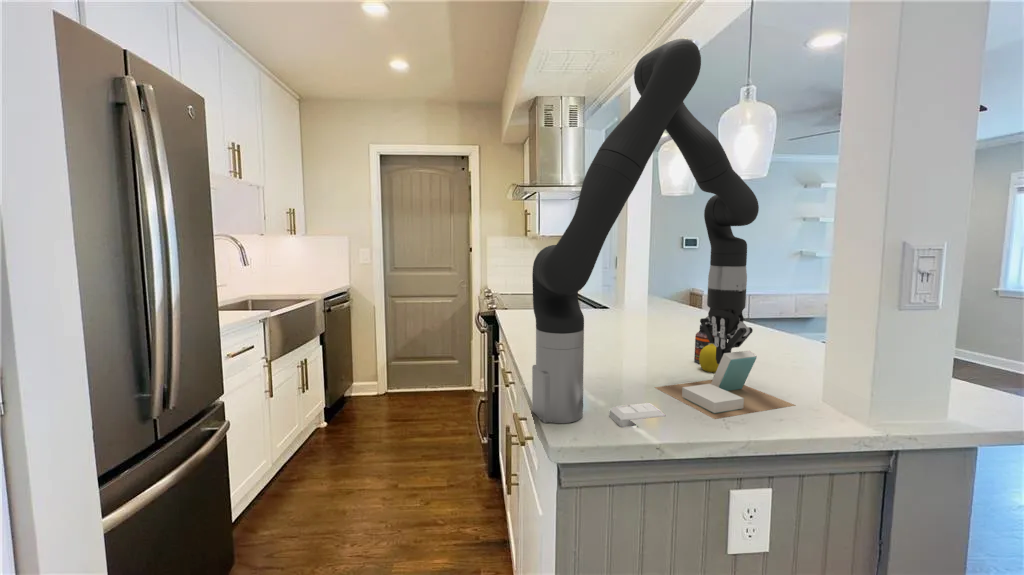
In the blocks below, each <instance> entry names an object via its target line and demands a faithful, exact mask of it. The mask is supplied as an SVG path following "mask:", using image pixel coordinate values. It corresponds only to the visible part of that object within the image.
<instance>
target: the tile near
mask: <svg viewBox="0 0 1024 575" xmlns="http://www.w3.org/2000/svg"><path fill="white" fill-rule="evenodd" d="M682 397H683V398H684V399H686V400H688V401H690V402H692V403H694V404H696V405H698V406H700V407H702V408H704V409H706V410H708V411H710V412H712V413H714V414H715V413H721V412H727V411H733V410H740V409H742V408H743V404H744V398H742V397H740V396H737V395H735V394H733V393H730V392H728V391H726V390H723V389H721V388H719V387H716V386H714V385H712V384H703V385H696V386H689V387H682Z"/></svg>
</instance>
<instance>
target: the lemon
mask: <svg viewBox="0 0 1024 575" xmlns="http://www.w3.org/2000/svg"><path fill="white" fill-rule="evenodd" d="M699 363H700V364H699V366H700V368H701V369H702V370H703V371H704V372H707V373H716V370H717V368H718V366H719V364H717V361H716V346H715V345H714V344H710V345H707V346H705V347H704V348H703V349H702V350H701V352H700V356H699Z"/></svg>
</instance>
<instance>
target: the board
mask: <svg viewBox="0 0 1024 575" xmlns="http://www.w3.org/2000/svg"><path fill="white" fill-rule="evenodd" d="M712 380H713V379H707V380H700V381H694V382H685V383H684V382H683V383H679V384H676V383H675V384H671V385H662V386H661V385H660V386H655V387H654V388H655V389H656V390H658V391H660V392H662V393H664V394H665V395H668V396H670V397H671V398H674V399H675V400H677V401H679V402H682V403H683V404H685V405H687V406H689V407H691V408H692V409H695V410H696V411H699V412H700V413H702V414H704V415H706V416H708V417H710V418H712V419H714V420H719V419H724V418H731V417H735V416H742V415H748V414H753V413H760V412H764V411H765V412H766V411H770V410H777V409H783V408H790V407H796V404H794V403H791V402H788V401H786V400H784V399H781V398H779V397H776V396H773V395H771V394H768V393H766V392H763V391H761V390H758V389H755V388H752V387H750V386H748V385H745V384H744V385H743V388H742V389H737V390H730V391H728V392H730V393H733V394H735V395H737V396H740V397H742V398H744V404H743V408H742V409H740V410H733V411H727V412H721V413H715V414H714V413H712V412H710V411H708V410H706V409H704V408H702V407H700V406H698V405H696V404H694V403H692V402H690V401H688V400H686V399H684V398H683V397H682V387H689V386H696V385H703V384H711V382H712Z"/></svg>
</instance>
